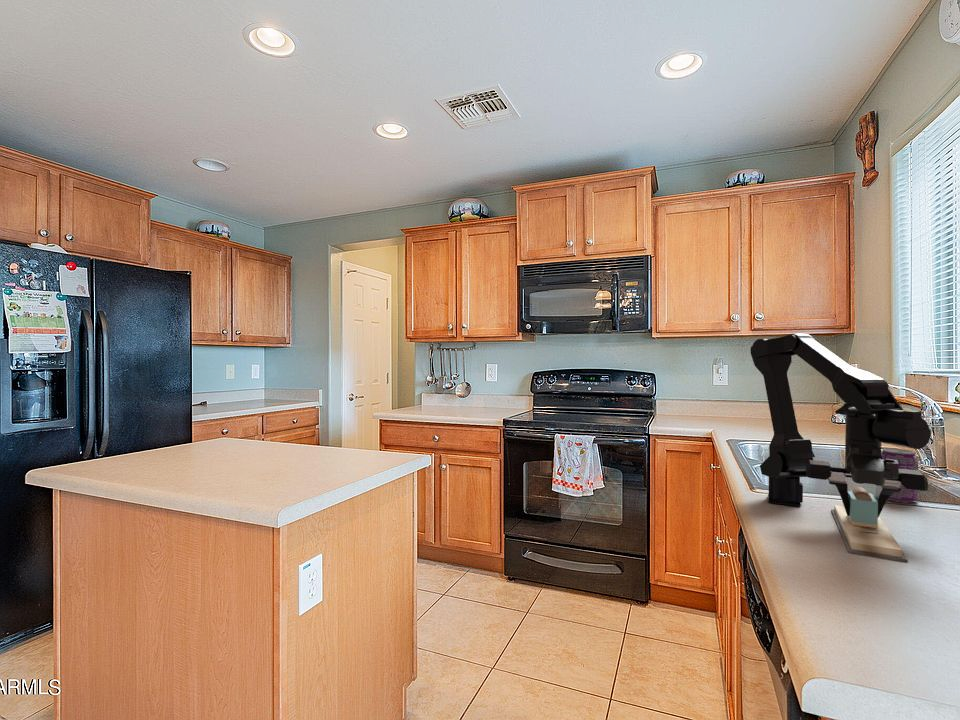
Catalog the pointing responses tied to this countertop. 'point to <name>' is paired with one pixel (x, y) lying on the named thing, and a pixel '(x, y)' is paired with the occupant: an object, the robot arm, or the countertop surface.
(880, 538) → the board
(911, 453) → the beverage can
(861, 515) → the teal toaster
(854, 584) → the countertop surface
